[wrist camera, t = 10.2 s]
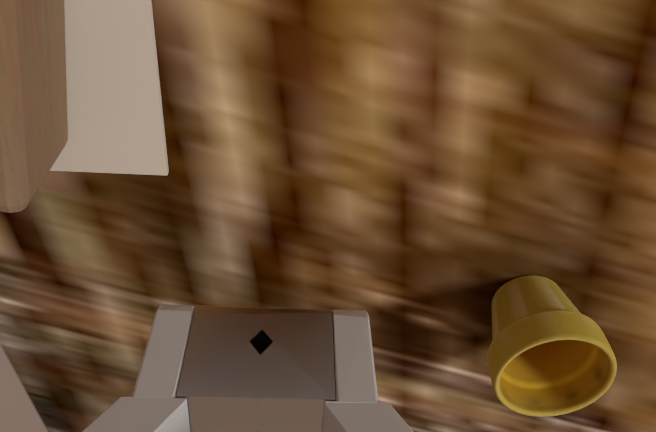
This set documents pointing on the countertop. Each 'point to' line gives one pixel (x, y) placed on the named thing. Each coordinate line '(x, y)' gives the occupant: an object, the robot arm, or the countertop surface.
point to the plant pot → (545, 350)
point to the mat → (112, 89)
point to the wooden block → (30, 96)
